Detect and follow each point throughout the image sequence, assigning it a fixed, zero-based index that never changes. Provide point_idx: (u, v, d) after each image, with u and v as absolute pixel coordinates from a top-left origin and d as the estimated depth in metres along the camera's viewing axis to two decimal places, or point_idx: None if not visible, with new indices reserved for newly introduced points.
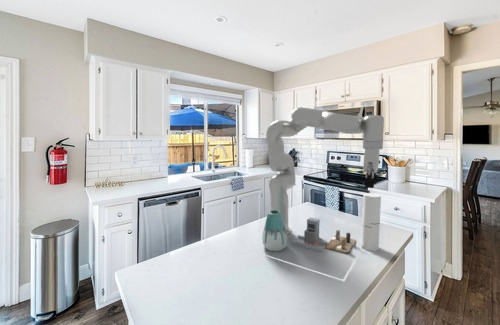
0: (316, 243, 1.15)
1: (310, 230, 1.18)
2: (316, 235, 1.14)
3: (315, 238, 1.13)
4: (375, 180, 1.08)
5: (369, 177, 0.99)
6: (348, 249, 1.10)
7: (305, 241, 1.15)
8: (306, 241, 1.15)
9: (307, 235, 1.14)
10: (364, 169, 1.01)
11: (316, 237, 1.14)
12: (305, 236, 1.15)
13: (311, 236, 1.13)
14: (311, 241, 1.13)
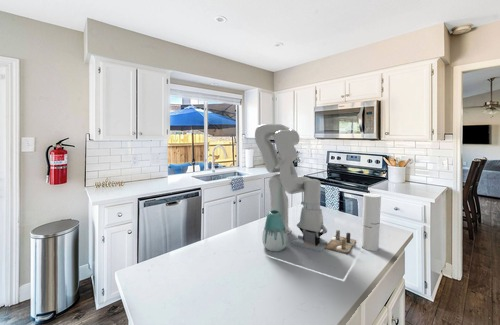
0: None
1: None
2: None
3: None
4: None
5: None
6: (348, 249, 1.10)
7: (305, 241, 1.15)
8: (306, 241, 1.15)
9: (307, 235, 1.14)
10: (320, 229, 1.11)
11: None
12: (305, 236, 1.15)
13: (311, 236, 1.13)
14: (311, 241, 1.13)
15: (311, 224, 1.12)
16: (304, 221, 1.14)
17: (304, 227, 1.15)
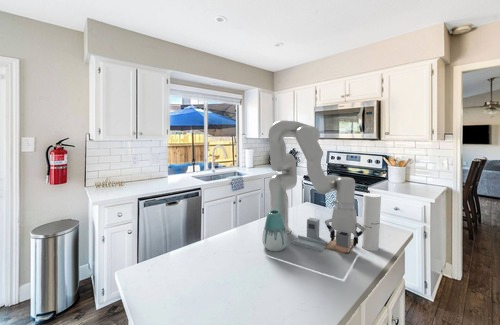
0: (349, 247, 1.09)
1: (342, 233, 1.12)
2: (349, 238, 1.09)
3: (348, 242, 1.07)
4: (334, 235, 1.14)
5: (358, 236, 1.06)
6: None
7: (337, 245, 1.09)
8: (338, 245, 1.09)
9: (339, 238, 1.09)
10: (354, 230, 1.05)
11: (349, 240, 1.08)
12: (337, 239, 1.09)
13: (344, 239, 1.07)
14: (344, 245, 1.08)
15: (345, 225, 1.06)
16: (337, 221, 1.08)
17: (336, 228, 1.09)
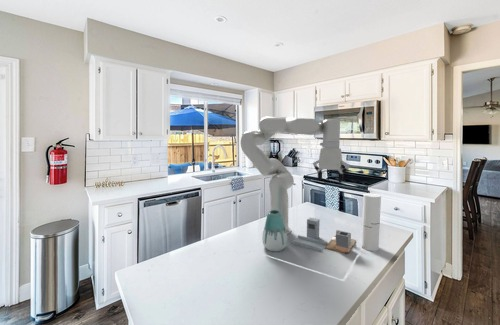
0: (349, 247, 1.09)
1: (342, 233, 1.12)
2: (349, 238, 1.09)
3: (348, 242, 1.07)
4: (321, 176, 1.22)
5: (343, 172, 1.14)
6: None
7: (337, 245, 1.09)
8: (338, 245, 1.09)
9: (339, 238, 1.09)
10: (339, 166, 1.13)
11: (349, 240, 1.08)
12: (337, 239, 1.09)
13: (344, 239, 1.07)
14: (344, 245, 1.08)
15: (330, 162, 1.14)
16: (323, 160, 1.16)
17: (323, 166, 1.17)
